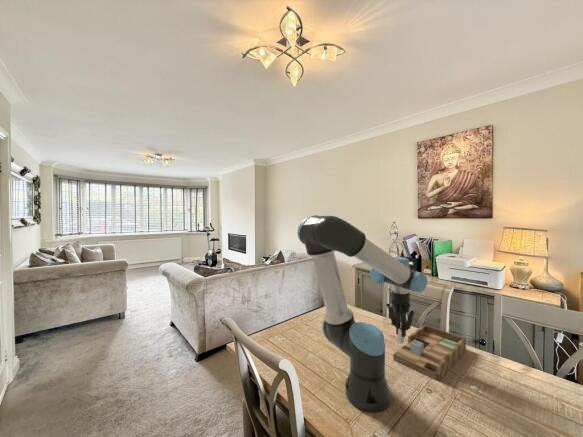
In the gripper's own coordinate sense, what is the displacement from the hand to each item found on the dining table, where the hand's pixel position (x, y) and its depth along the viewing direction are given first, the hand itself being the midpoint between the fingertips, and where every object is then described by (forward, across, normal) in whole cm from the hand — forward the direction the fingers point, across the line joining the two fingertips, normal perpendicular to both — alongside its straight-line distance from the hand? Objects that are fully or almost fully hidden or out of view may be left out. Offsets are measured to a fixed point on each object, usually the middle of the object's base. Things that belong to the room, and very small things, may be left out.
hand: (401, 342), depth 112 cm
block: (+1, -7, 0) cm, 7 cm away
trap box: (+4, -10, -7) cm, 13 cm away
